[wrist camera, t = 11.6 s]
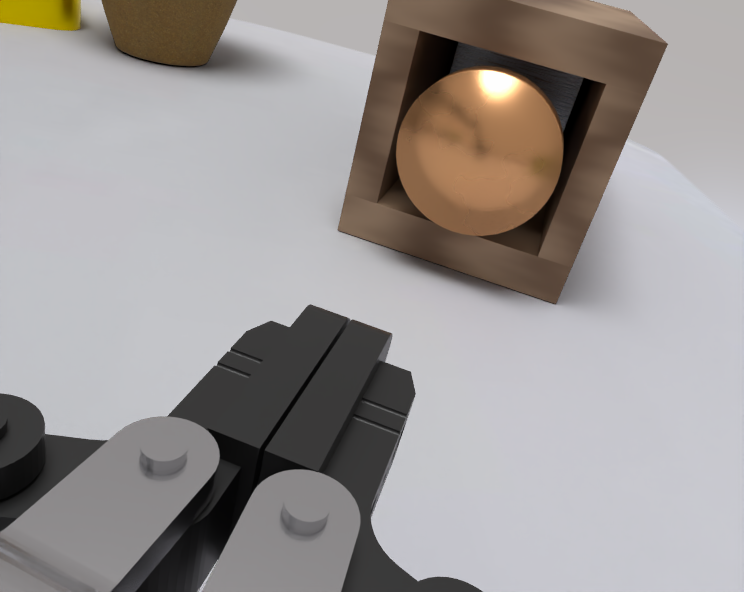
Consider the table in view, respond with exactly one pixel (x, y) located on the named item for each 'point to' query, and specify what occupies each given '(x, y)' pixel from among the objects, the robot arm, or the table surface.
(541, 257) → the box
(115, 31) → the plant pot
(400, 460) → the table surface
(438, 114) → the plunger
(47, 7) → the element tile
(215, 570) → the robot arm
